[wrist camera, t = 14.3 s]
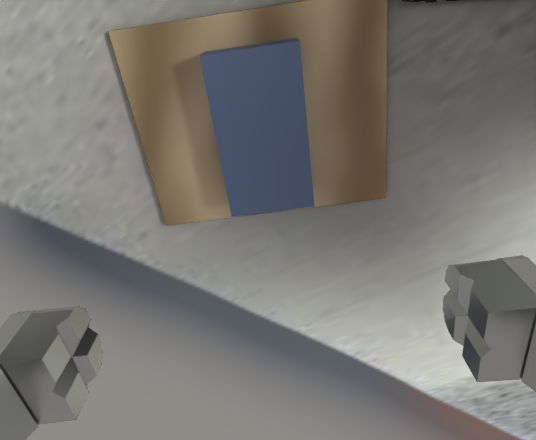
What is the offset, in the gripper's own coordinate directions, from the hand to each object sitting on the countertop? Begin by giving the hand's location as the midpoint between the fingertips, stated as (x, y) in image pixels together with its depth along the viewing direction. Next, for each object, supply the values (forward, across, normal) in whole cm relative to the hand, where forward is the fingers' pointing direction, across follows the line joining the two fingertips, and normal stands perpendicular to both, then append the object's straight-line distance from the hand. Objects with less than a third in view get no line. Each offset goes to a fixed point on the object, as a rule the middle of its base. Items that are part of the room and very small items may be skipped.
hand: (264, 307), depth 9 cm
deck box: (+17, 0, +6) cm, 18 cm away
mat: (+19, 0, +1) cm, 19 cm away
